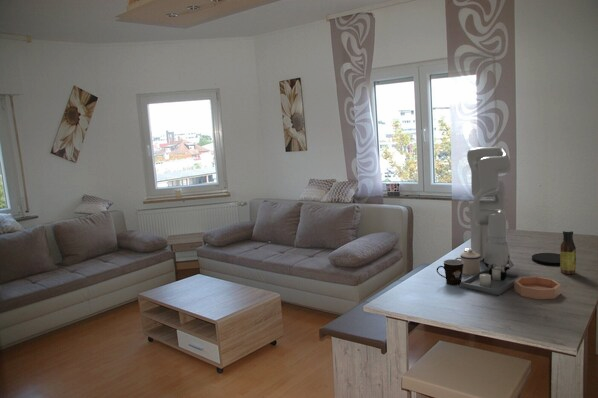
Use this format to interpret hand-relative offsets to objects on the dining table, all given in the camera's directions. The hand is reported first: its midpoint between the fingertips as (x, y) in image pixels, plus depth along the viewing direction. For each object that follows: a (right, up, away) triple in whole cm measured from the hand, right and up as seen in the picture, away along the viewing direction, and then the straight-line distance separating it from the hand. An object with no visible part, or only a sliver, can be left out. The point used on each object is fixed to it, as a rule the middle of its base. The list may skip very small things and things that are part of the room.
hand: (497, 278), depth 205 cm
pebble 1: (-9, -2, -8) cm, 12 cm away
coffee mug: (-21, -3, +1) cm, 21 cm away
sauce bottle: (+35, +2, +5) cm, 35 cm away
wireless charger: (+38, +4, +23) cm, 45 cm away
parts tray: (-4, -2, -4) cm, 6 cm away
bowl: (+10, -3, -16) cm, 19 cm away
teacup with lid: (-8, 0, +14) cm, 16 cm away
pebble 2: (0, 0, 0) cm, 0 cm away
